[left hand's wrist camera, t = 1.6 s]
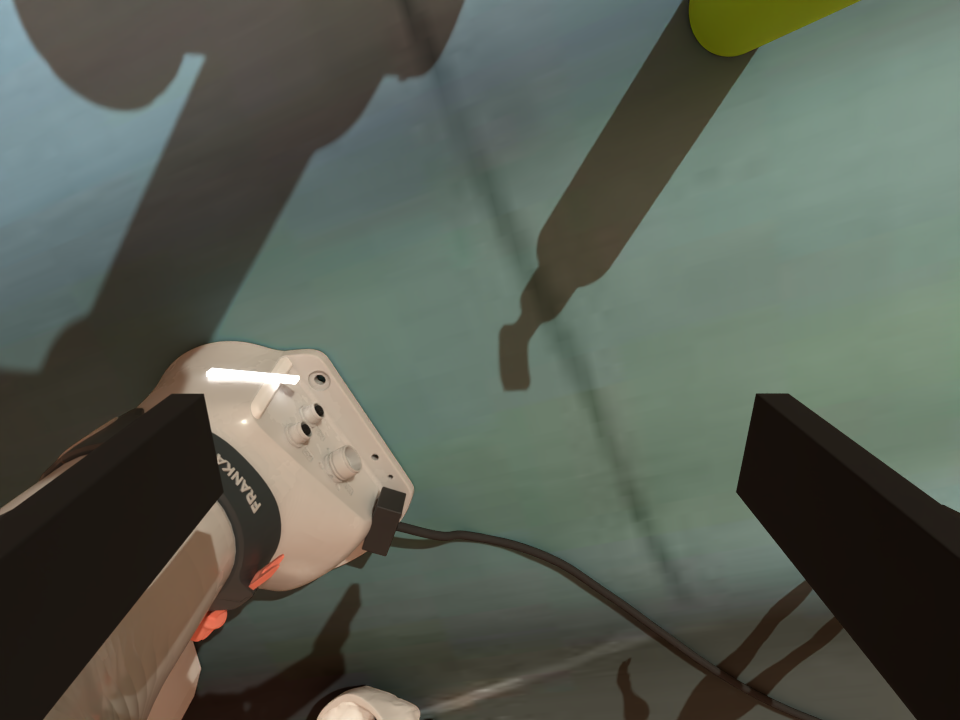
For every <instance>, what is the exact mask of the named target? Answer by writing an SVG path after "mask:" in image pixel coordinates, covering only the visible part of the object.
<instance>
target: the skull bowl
mask: <svg viewBox="0 0 960 720" xmlns="http://www.w3.org/2000/svg"><path fill="white" fill-rule="evenodd" d="M375 718H376V719H377V720H419V718H420V710H419V708H418V707H417V706H415V705H414V704H412V703H410V702H408V701H406V700H403V699H401V698H397V697H396V696H395V695H393V694H391V693H389V692H386V691H383V690H380V689H376V688H373V687H370V686H363V687H358V688H353V689H350V690H347V691H345V692H343V693H342V694H340V695H339V696H337V697H336V698H334V699H333V700H332V701H331V702H329V703H328V704H327V705H326V706H325V707H324V708H323V710H322V711H321V712H320V714H319V716H318V718H317V720H375Z"/></svg>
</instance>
